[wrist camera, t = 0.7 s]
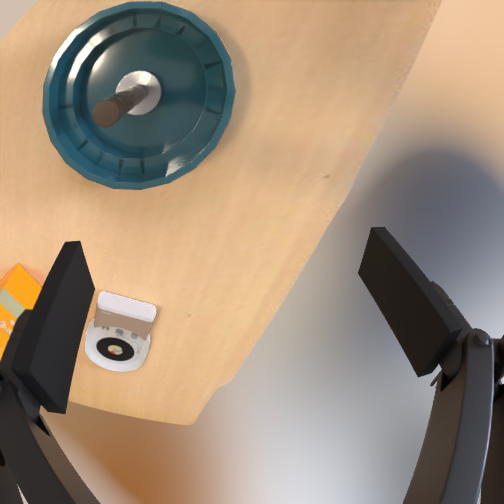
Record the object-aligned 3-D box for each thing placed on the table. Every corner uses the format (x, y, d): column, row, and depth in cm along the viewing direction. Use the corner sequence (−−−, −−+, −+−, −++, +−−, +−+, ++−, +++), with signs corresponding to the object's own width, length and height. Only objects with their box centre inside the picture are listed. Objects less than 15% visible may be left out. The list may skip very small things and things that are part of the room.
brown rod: (149, 61, 27) (117, 64, 16) (170, 98, 30) (153, 123, 19) (110, 86, 28) (60, 107, 17) (132, 121, 31) (96, 160, 20)
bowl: (180, -20, 23) (177, -33, 18) (258, 120, 34) (267, 131, 30) (36, 77, 25) (13, 83, 21) (118, 198, 37) (108, 220, 32)
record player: (162, 321, 46) (138, 382, 55) (163, 307, 48) (139, 370, 58) (89, 301, 41) (81, 369, 51) (93, 287, 44) (84, 356, 53)
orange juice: (32, 314, 45) (0, 409, 29) (-2, 282, 40) (-47, 375, 24) (54, 298, 44) (20, 402, 28) (18, 262, 39) (-33, 363, 23)
